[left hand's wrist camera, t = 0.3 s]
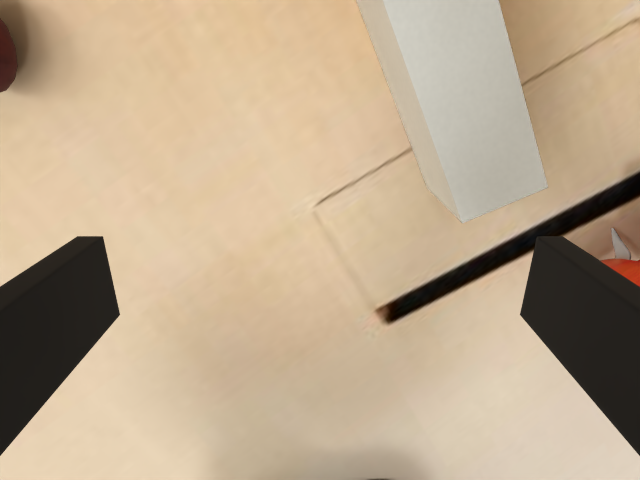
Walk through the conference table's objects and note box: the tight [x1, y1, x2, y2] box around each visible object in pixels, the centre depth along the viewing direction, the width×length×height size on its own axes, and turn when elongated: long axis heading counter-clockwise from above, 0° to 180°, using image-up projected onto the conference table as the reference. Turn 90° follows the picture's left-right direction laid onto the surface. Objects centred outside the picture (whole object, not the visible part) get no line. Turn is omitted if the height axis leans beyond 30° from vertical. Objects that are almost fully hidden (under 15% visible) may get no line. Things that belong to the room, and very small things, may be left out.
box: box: [356, 0, 548, 223], centre depth 29 cm, size 23×6×10 cm, turn 25°
